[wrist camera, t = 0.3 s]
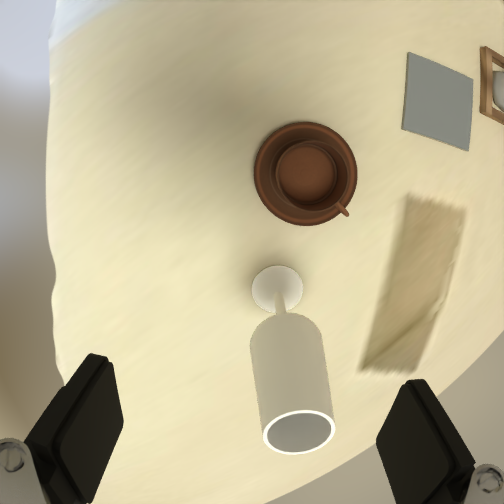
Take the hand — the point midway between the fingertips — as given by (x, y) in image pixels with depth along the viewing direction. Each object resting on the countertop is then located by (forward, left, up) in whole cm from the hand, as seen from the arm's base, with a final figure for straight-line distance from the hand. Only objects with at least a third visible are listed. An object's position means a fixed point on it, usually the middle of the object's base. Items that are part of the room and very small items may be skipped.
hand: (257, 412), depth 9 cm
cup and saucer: (-6, +5, -31) cm, 32 cm away
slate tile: (-20, +22, -31) cm, 43 cm away
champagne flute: (+9, +4, -31) cm, 32 cm away
